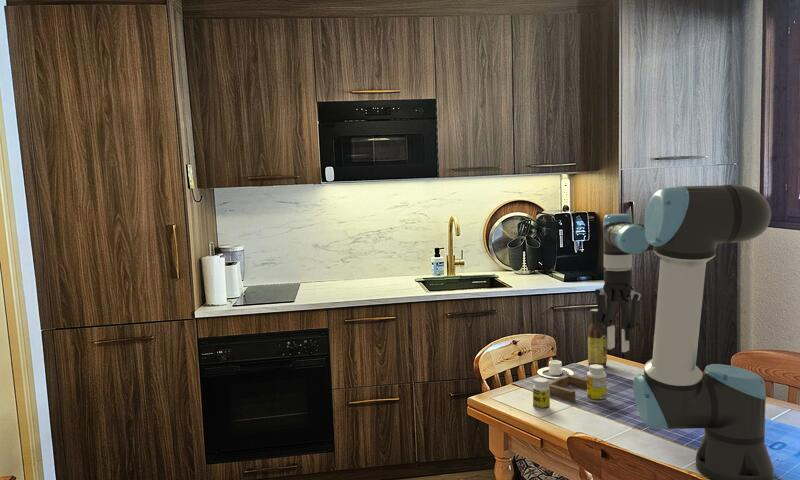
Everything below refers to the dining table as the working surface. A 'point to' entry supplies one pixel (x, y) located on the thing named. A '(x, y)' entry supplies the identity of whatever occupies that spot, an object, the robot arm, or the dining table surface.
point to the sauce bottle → (596, 341)
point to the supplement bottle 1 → (541, 394)
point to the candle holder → (554, 369)
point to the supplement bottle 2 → (596, 384)
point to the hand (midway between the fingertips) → (618, 349)
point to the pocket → (561, 382)
